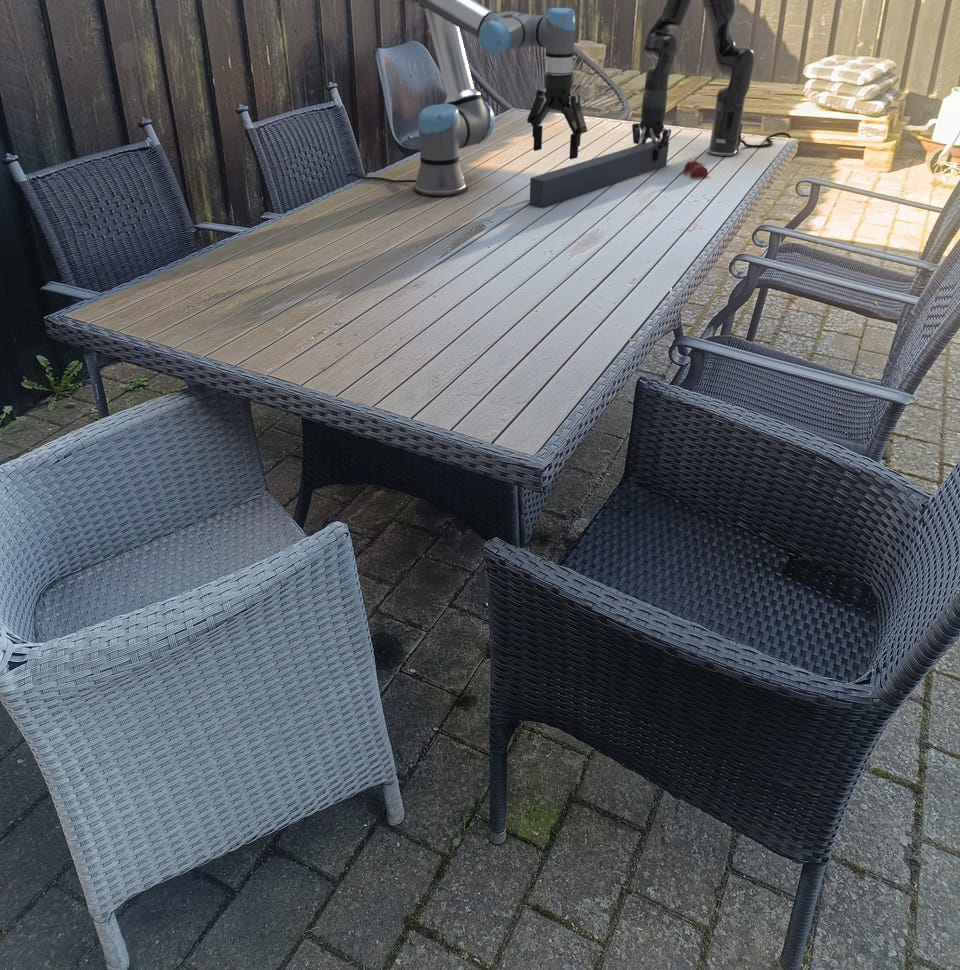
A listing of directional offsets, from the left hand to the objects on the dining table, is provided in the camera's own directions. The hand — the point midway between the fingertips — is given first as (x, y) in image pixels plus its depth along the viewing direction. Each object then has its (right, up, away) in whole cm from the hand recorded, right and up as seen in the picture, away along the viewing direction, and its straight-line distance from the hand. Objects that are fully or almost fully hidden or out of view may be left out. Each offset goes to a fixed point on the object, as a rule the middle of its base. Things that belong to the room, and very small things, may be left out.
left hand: (555, 154), depth 242 cm
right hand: (+33, +11, +34) cm, 49 cm away
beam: (+17, -1, +21) cm, 27 cm away
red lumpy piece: (+48, +4, +29) cm, 56 cm away
